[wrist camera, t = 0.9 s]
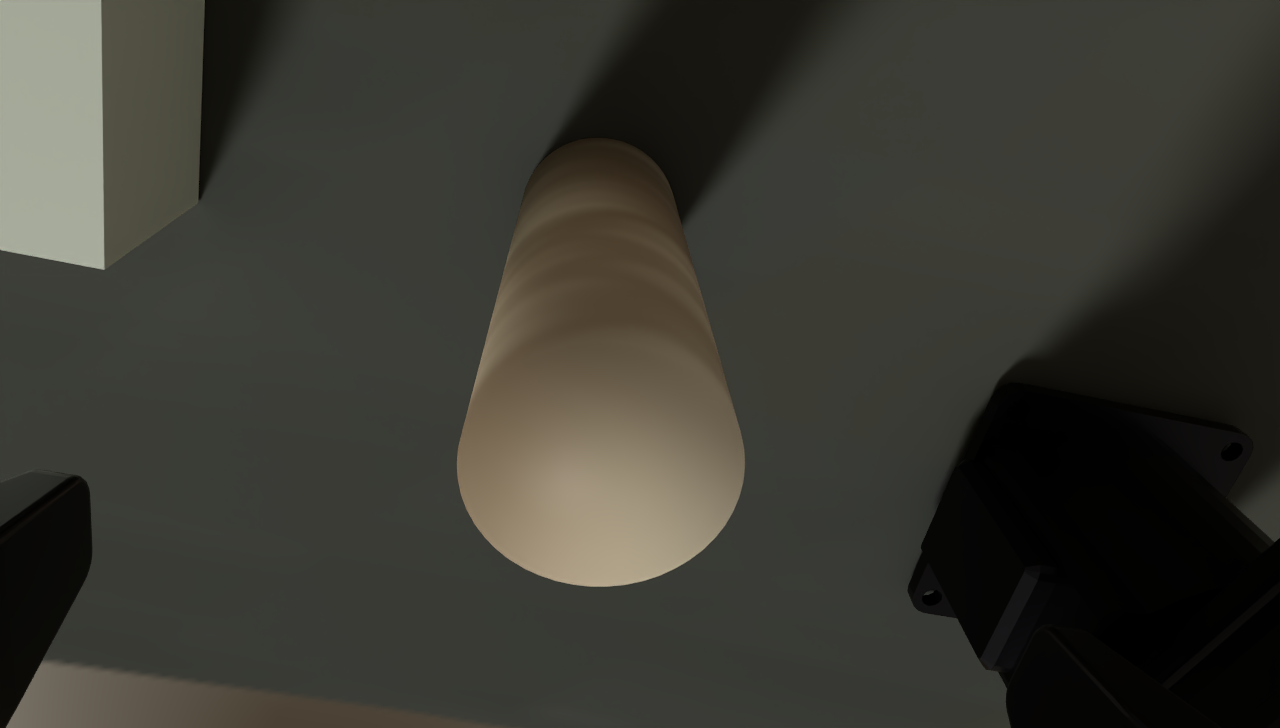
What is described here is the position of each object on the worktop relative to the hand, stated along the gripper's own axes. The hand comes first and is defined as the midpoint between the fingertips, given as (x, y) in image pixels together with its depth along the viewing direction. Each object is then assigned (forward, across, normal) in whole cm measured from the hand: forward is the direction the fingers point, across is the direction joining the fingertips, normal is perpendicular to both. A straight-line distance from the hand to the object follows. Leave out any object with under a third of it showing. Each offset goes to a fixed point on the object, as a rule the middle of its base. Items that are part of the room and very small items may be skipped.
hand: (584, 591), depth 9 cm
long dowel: (+12, 0, 0) cm, 12 cm away
